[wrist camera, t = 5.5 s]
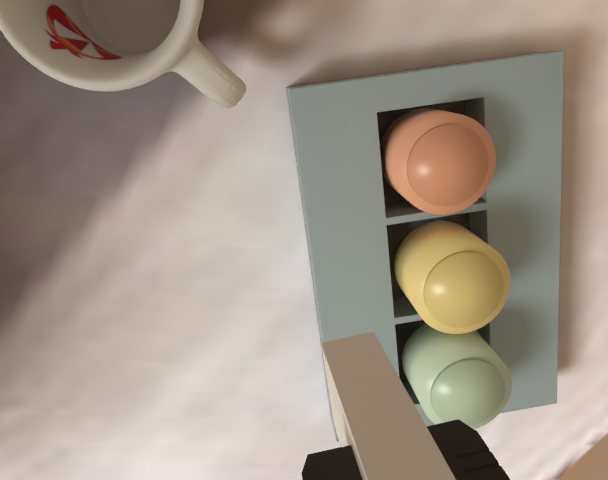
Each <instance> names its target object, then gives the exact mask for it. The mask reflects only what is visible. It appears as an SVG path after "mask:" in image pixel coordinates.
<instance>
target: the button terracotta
mask: <svg viewBox="0 0 608 480" xmlns="http://www.w3.org/2000/svg"><path fill="white" fill-rule="evenodd" d="M380 156H381V167H382V174H383V176H384V178H385V180H386V181H387V183H388V184H389V185H390V186H391V187H392V188H393V189H394V190H396V191H397V192H398V193H399V194H400V195H402V196H403V197H404V198H405V199H406V200H408V201H409V202H410V203H411V204H412V205H414V206H415V207H417V208H418V209H420V210H422V211H424V212H427V213H430V214H436V215H446V214H452V213H456V212H459V211H462V210H464V209H466V208H467V207H469V206H471V205H472V204H473V203H475V202H476V201H477V200H478V199H479V198H480V197H481V196H482V195H483V194H484V192H485V191H486V189H487V188H488V186H489V184H490V182H491V180H492V178H493V174H494V171H495V165H496V154H495V148H494V144H493V141H492V139H491V137H490V135H489V133H488V132H487V131H486V129H485V128H484V127H483V126H482V125H481V124H480V123H478V122H477V121H476V120H474V119H472V118H470V117H468V116H465V115H461V114H457V113H452V112H448V111H443V110H439V109H434V108H418V109H414V110H411V111H408V112H406V113H404V114H403V115H401V116H400V117H398V118H397V119H396V120H395V121H394V122H393V123H392V124H391V125H390V126H389V127H388V129H387V130H386V132H385V134H384V136H383V138H382V140H381V143H380Z"/></svg>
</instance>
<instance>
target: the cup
mask: <svg viewBox="0 0 608 480" xmlns="http://www.w3.org/2000/svg"><path fill="white" fill-rule="evenodd" d="M203 6H204V0H0V30H1V32H2V33H3V34H4V36H5V37H6V39H7V40H8V41H9V42H10V44H11V45H12V46H13V47H14V48H15V49H16V50H17V51H18V52H19V53H20V54H21V55H22V56H23V57H24V58H25V59H26V60H27V61H28V62H30V63H31V64H32V65H33V66H35V67H36V68H38V69H39V70H40V71H42V72H43V73H45V74H47V75H49V76H50V77H52V78H54V79H56V80H58V81H61V82H63V83H65V84H68V85H71V86H74V87H78V88H81V89H87V90H92V91H119V90H126V89H130V88H134V87H138V86H140V85H143V84H146V83H148V82H150V81H152V80H154V79H156V78H157V77H159V76H160V75H162V74H164V73H166V72H170V71H172V72H176V73H178V74H180V75H181V76H182V77H184V78H185V79H186V80H187V81H189V82H190V83H191V84H192V85H193V86H195V87H196V88H197V89H198V90H200V91H201V92H202V93H203V94H205V95H206V96H207V97H208V98H210V99H211V100H213V101H214V102H216V103H217V104H219V105H220V106H222V107H225V108H231V107H233V106H235V105H236V104H237V103H238V102H239V101H240V99H241V98H242V97H243V95H244V94H245V91H246V85H245V83H244V82H243V81H242V80H241V79H240V78H239V77H237V76H236V75H235V74H234V73H233V72H232V71H231V70H229V69H228V68H227V67H226V66H225V65H224V64H223V63H222V62H221V61H219V60H218V59H217V58H216V57H215V56H214V55H213V54H212V53H211V52H210V51H209V50H207V49H206V48H205V47H204V46H203V45H202V44H201V42H200V41H199V39H198V27H199V23H200V20H201V16H202V11H203Z"/></svg>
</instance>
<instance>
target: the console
mask: <svg viewBox="0 0 608 480" xmlns="http://www.w3.org/2000/svg"><path fill="white" fill-rule="evenodd" d="M563 79H564V51H556V52H538V53H530V54H523V55H516V56H509V57H502V58H494V59H487V60H480V61H473V62H466V63H459V64H451V65H444V66H437V67H430V68H423V69H416V70H408V71H401V72H394V73H387V74H380V75H373V76H365V77H358V78H351V79H344V80H337V81H330V82H322V83H315V84H308V85H301V86H294V87H287V95H288V103H289V110H290V118H291V125H292V132H293V140H294V147H295V155H296V162H297V169H298V177H299V184H300V192H301V199H302V206H303V214H304V221H305V229H306V236H307V243H308V251H309V258H310V266H311V273H312V280H313V288H314V295H315V303H316V310H317V317H318V325H319V332H320V340H321V343H322V342H327V341H332V340H337V339H341V338H346V337H351V336H356V335H360V334H365V333H370V332H374V333H375V335H376V337H377V338H378V340H379V342H380V344H381V346H382V347H383V349H384V351H385V353H386V355H387V356H388V358H389V360H390V362H391V364H392V365H393V367H394V369H395V371H396V373H397V374H398V376H399V366H398V355H397V343H396V331H395V324H401V323H407V322H413V321H419V320H423V319H422V318H421V317H420V315H419V314H418V312H417V311H416V309H415V308H414V307H413V305H412V304H411V302H410V301H409V299H408V298H407V296H403V297H397V298H393V296H392V285H391V273H390V261H389V249H388V238H387V226H386V225H392V224H398V223H405V222H411V221H418V220H424V219H430V218H437V217H443V216H450V215H456V214H463V213H469V227H470V231H471V232H472V233H473V234H475V235H476V236H477V237H479V238H480V239H481V240H483V241H484V242H485V243H487V244H488V245H490V246H491V247H492V248H494V249H495V250H496V251H497V252H498V253H500V254H501V256H502V257H503V258H504V260H505V261H506V263H507V265H508V268H509V271H510V277H511V287H510V292H509V296H508V299H507V301H506V303H505V305H504V307H503V308H502V310H501V311H500V312H499V314H498V315H497V316H496V317H495V318H494V319H493V320H492V321H490V322H489V323H488V324H486V325H485V326H483V327H481V328H479V329H477V330H476V331H477V332H478V333H479V334H480V336H481V337H482V338H483V339H484V340H485V341H486V342H487V344H488V345H489V346H490V347H491V348H492V349H493V351H494V352H495V353H496V354H497V355H498V356H499V357H500V359H501V360H502V361H503V362H504V363H505V364H506V366H507V368H508V369H509V372H510V375H511V380H512V389H511V394H510V397H509V400H508V402H507V404H506V405H505V407H504V408H503V410H502V411H501V412H500V413H504V412H509V411H515V410H521V409H526V408H532V407H538V406H543V405H549V404H555V403H557V367H558V319H559V271H560V223H561V175H562V127H563ZM461 100H465V112H466V116H468V117H470V118H472V119H474V120H476V121H477V122H478V123H480V124H481V125H482V126H483V127H484V128H485V129H486V131H487V132H488V133H489V135H490V137H491V139H492V141H493V144H494V148H495V154H496V165H495V171H494V174H493V178H492V180H491V182H490V184H489V186H488V188H487V189H486V191H485V192H484V194H483V195H482V196H481V197H480V198H479V199H478V200H477V201H476V202H475V203H473V204H472V205H471V206H469V207H467V208H466V209H464V210H462V211H459V212H456V213H452V214H446V215H436V214H430V213H427V212H424V211H422V210H420V209H418V208H417V207H415V206H414V205H412V204H411V203H410V202H409V201H408V202H401V203H394V204H388V205H385V203H384V191H383V179H382V167H381V156H380V144H379V132H378V121H377V112H384V111H391V110H398V109H405V108H412V107H419V106H426V105H433V104H440V103H447V102H454V101H461ZM322 354H323V353H322ZM323 362H324V359H323ZM324 369H325V365H324ZM325 377H326V371H325ZM401 382H402V383H403V385H404V387H405V389H406V391H407V392H408V394H409V396H410V398H411V400H412V401H413V403H414V405H415V407H416V409H417V410H418V412H419V414H420V416H421V418H422V419H423V421H424V423H425V425H426V426H430V425H435V424H434V423H433V422H432V421H431V420H430V419H429V418H428V417H427V415H426V414H425V412H424V410H423V408H422V406H421V404H420V402H419V400H418V398H417V396H416V394H415V392H414V391H413V389H412V387H411V385H410V383H409V381H408V380H406V381H401ZM326 384H327V391H328V399H329V406H330V414H331V419H332V423H333V427H334V431H335V436H336V440H337V442H339V439H338V435H337V432H336V429H335V425H334V420H333V414H332V408H331V402H330V395H329V389H328V383H327V377H326Z"/></svg>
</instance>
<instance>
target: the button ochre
mask: <svg viewBox="0 0 608 480" xmlns="http://www.w3.org/2000/svg"><path fill="white" fill-rule="evenodd" d="M394 273H395V277H396V280H397V283H398V285H399V286H400V288H401V289H402V291H403V292H404V294H405V295H406V296H407V298H408V299H409V301H410V302H411V304H412V305H413V307H414V308H415V309H416V311H417V312H418V314H419V315H420V317H421V318H422V319H423V320H424V321H425V323H427V324H428V325H429V326H430V327H432V328H434V329H436V330H438V331H440V332H444V333H449V334H463V333H468V332H472V331H474V330H477V329H479V328H481V327H483V326H485V325H486V324H488V323H489V322H490V321H492V320H493V319H494V318H495V317H496V316H497V315H498V314H499V312H500V311H501V310H502V308H503V307H504V305H505V303H506V301H507V299H508V296H509V292H510V287H511V277H510V271H509V268H508V265H507V263H506V261H505V260H504V258H503V257H502V256H501V254H500V253H498V252H497V251H496V250H495V249H494V248H492V247H491V246H490V245H488V244H487V243H485V242H484V241H483V240H481V239H480V238H479V237H477V236H476V235H475V234H473V233H472V232H471V231H469V230H468V229H466V228H465V227H463V226H462V225H460V224H458V223H455V222H452V221H446V220H438V221H432V222H428V223H425V224H423V225H420V226H418V227H417V228H415V229H414V230H412V231H411V232H410V233H409V234H408V235H407V236H406V237H405V238H404V239H403V241H402V242H401V244H400V246H399V247H398V250H397V252H396V255H395V259H394Z"/></svg>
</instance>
